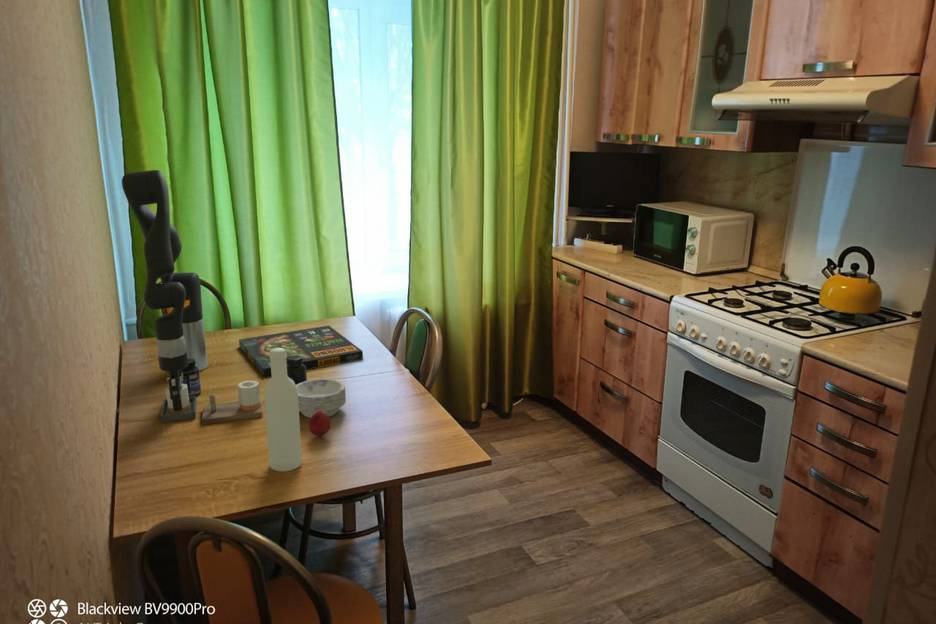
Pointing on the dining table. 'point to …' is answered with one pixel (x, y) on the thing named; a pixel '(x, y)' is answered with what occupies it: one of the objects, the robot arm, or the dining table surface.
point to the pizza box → (302, 348)
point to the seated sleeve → (249, 395)
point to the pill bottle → (192, 378)
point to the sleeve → (183, 400)
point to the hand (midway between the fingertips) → (178, 404)
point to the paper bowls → (320, 396)
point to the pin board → (226, 412)
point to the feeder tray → (186, 415)
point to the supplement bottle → (296, 369)
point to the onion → (319, 424)
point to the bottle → (282, 416)
